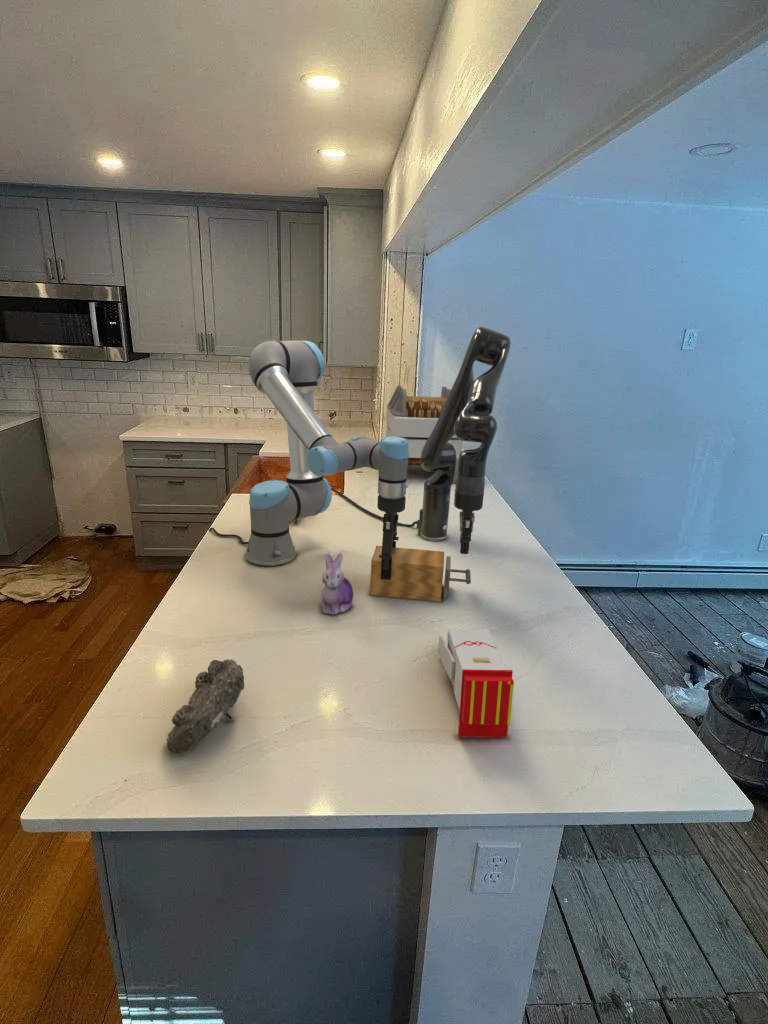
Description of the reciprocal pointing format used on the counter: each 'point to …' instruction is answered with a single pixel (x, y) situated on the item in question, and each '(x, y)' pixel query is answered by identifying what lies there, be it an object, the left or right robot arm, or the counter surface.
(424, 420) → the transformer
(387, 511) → the left robot arm
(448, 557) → the drawer
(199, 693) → the fossil
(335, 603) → the figurine
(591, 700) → the counter surface
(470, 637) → the toy
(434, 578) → the cabinet
